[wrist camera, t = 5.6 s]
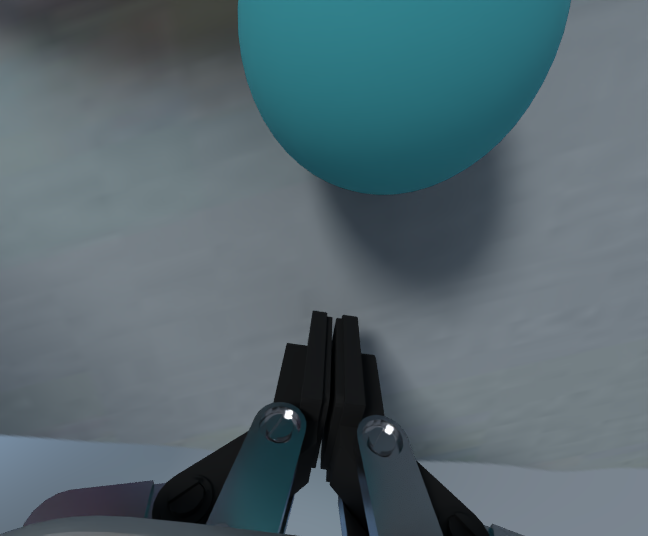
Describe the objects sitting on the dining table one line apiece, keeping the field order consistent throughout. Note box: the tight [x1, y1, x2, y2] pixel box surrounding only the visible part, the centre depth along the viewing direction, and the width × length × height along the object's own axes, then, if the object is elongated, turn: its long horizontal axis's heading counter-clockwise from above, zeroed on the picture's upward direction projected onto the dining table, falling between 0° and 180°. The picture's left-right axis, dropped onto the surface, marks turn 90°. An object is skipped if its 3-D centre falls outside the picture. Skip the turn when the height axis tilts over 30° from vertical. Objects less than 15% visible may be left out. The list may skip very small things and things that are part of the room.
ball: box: [238, 0, 571, 195], centre depth 7 cm, size 6×6×6 cm
